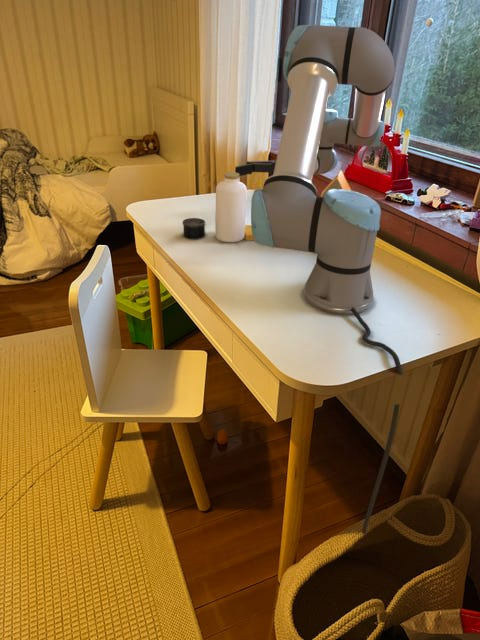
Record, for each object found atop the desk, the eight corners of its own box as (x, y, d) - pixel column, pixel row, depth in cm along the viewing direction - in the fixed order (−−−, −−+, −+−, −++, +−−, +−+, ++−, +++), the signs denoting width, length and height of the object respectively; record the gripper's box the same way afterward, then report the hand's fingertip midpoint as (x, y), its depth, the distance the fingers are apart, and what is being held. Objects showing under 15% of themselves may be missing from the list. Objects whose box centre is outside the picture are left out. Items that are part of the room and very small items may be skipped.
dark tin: (205, 239, 134) (205, 225, 132) (182, 239, 133) (182, 225, 131) (205, 231, 139) (205, 217, 137) (183, 230, 139) (182, 217, 137)
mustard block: (266, 240, 135) (266, 235, 134) (245, 240, 134) (245, 235, 134) (263, 230, 142) (263, 225, 141) (243, 229, 141) (243, 225, 140)
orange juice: (312, 250, 130) (321, 176, 119) (317, 238, 137) (326, 167, 126) (340, 254, 128) (352, 179, 117) (344, 242, 135) (356, 171, 125)
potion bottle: (235, 246, 130) (237, 180, 121) (209, 239, 134) (209, 174, 125) (249, 236, 137) (253, 173, 127) (225, 230, 140) (226, 168, 131)
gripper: (331, 187, 143) (284, 200, 130) (270, 170, 158) (222, 180, 145) (334, 161, 139) (287, 172, 126) (271, 146, 154) (223, 154, 141)
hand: (252, 176), depth 136 cm, fingers open, 13 cm apart
